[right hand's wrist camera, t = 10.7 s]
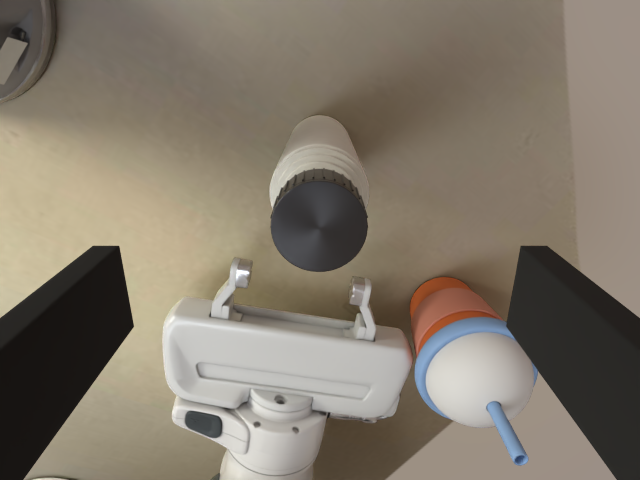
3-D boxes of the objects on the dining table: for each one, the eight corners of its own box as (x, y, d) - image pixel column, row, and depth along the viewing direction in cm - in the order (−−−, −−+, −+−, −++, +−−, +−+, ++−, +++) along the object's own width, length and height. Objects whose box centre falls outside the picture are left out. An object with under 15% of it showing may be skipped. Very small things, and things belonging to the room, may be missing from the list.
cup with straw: (504, 314, 42) (624, 473, 26) (424, 358, 44) (487, 534, 28) (459, 243, 40) (561, 370, 23) (376, 294, 42) (413, 446, 25)
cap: (269, 245, 21) (264, 266, 19) (280, 160, 19) (275, 172, 17) (354, 257, 21) (358, 279, 19) (371, 174, 20) (378, 187, 17)
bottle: (284, 172, 38) (250, 271, 19) (292, 110, 36) (264, 153, 17) (344, 182, 38) (368, 288, 20) (355, 120, 36) (393, 174, 18)
